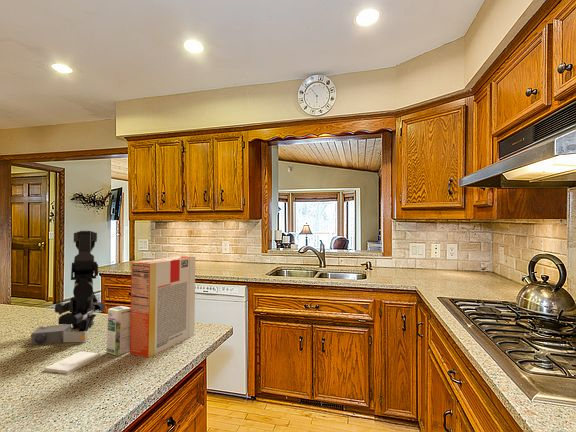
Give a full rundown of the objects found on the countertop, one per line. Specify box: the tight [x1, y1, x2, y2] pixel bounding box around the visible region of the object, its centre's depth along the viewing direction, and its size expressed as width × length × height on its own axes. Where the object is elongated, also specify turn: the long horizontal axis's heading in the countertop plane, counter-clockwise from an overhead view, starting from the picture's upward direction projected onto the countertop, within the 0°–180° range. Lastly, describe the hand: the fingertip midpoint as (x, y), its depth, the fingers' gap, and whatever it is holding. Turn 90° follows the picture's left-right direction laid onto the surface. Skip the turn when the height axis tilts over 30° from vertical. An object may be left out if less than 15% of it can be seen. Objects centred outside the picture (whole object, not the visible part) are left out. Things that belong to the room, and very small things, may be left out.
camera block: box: [30, 324, 72, 346], centre depth 120 cm, size 10×9×5 cm
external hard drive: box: [43, 350, 102, 375], centre depth 100 cm, size 2×8×12 cm
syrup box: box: [106, 305, 131, 357], centre depth 110 cm, size 6×6×14 cm
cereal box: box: [129, 255, 196, 358], centre depth 118 cm, size 23×8×30 cm, turn 158°
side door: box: [60, 330, 88, 343], centre depth 117 cm, size 2×9×4 cm, turn 93°
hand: (82, 336), depth 119 cm, fingers closed
